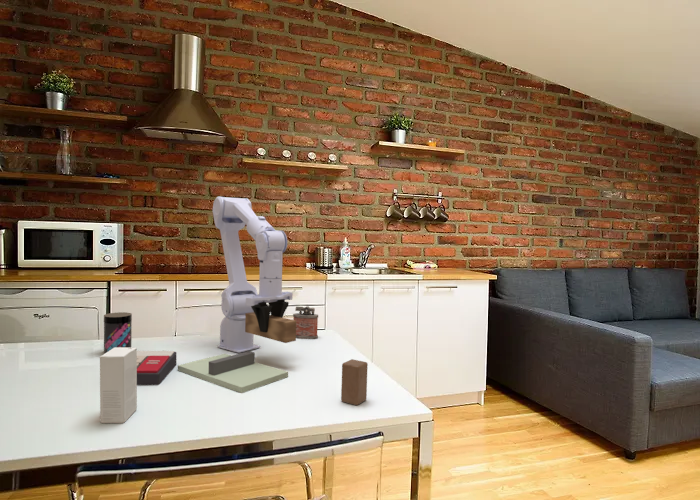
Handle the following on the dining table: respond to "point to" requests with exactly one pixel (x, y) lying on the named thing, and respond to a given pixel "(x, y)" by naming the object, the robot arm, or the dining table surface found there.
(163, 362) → the red and black box
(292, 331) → the walnut batten
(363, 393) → the wooden block
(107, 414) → the skincare box
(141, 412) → the dining table surface
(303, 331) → the lighter
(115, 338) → the supplement container
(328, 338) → the dining table surface
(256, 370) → the stand
